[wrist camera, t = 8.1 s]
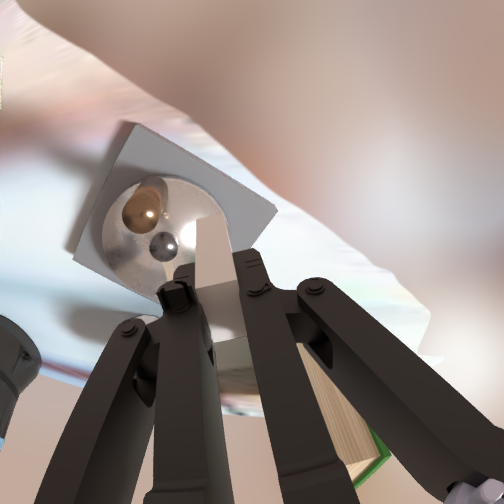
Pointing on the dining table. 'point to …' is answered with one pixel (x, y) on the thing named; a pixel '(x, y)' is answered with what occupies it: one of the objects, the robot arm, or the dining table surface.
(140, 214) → the capstan dial
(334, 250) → the dining table surface
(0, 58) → the supplement box
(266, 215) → the dial base
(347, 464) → the hardback book
